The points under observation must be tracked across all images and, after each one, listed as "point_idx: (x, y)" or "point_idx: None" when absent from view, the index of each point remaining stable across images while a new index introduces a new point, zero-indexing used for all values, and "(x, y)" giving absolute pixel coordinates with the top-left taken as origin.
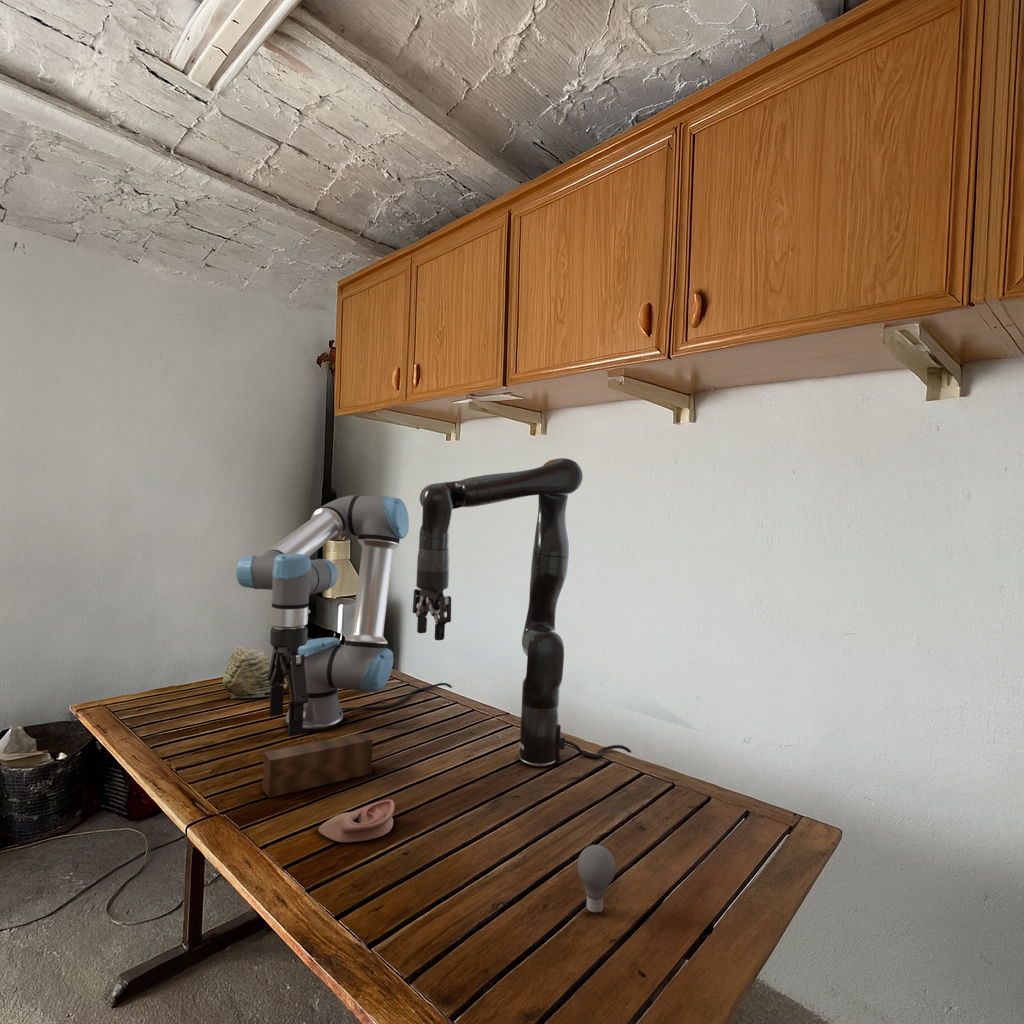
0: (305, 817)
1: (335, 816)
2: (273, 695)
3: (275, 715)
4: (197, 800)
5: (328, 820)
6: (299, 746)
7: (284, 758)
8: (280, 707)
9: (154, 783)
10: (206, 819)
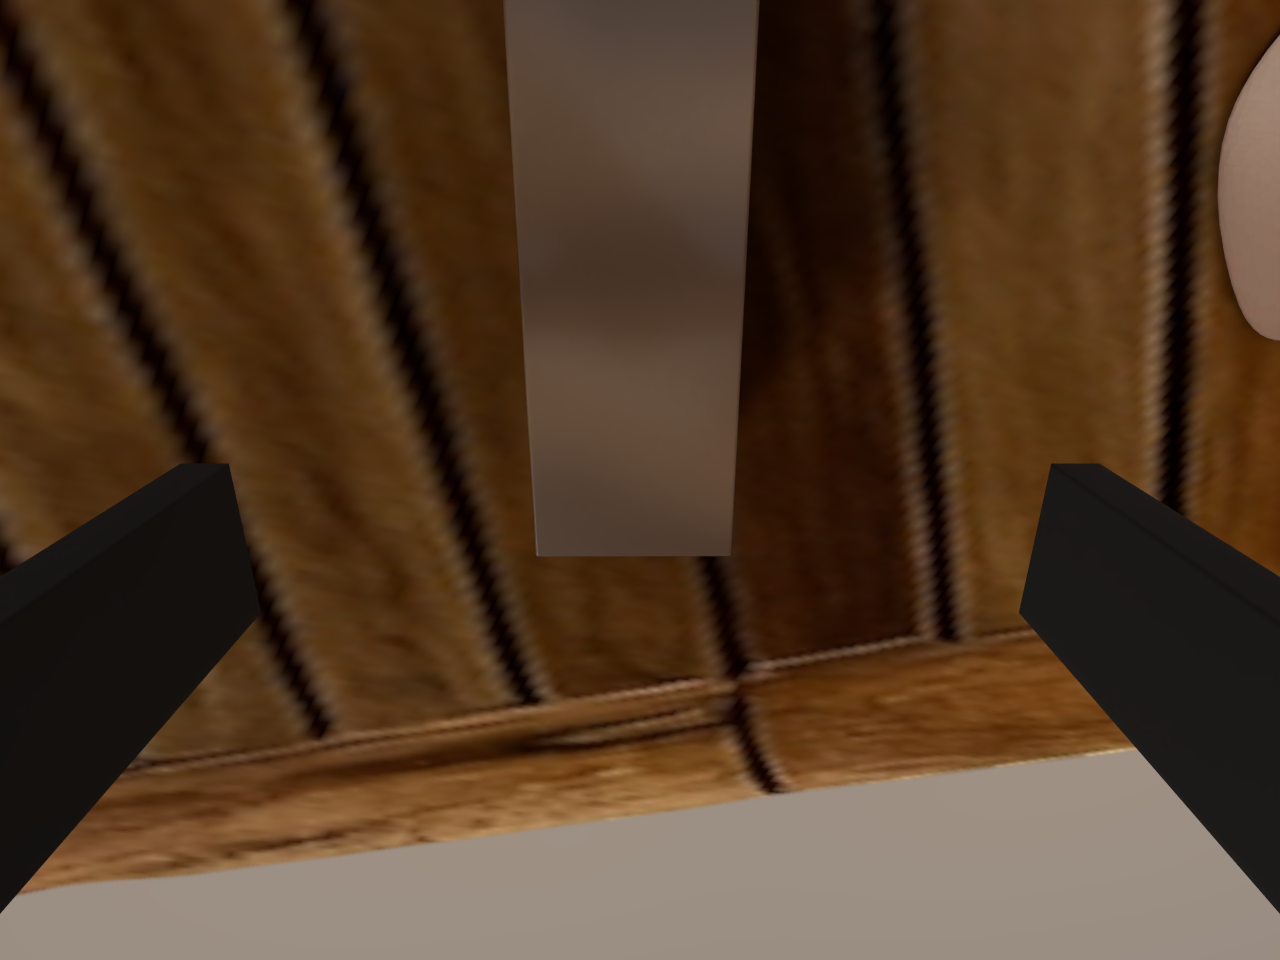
0: (1059, 342)
1: (1270, 210)
2: (53, 804)
3: (245, 558)
4: (543, 733)
5: (1273, 266)
6: (552, 255)
7: (736, 446)
8: (172, 547)
9: (263, 846)
10: (761, 732)
